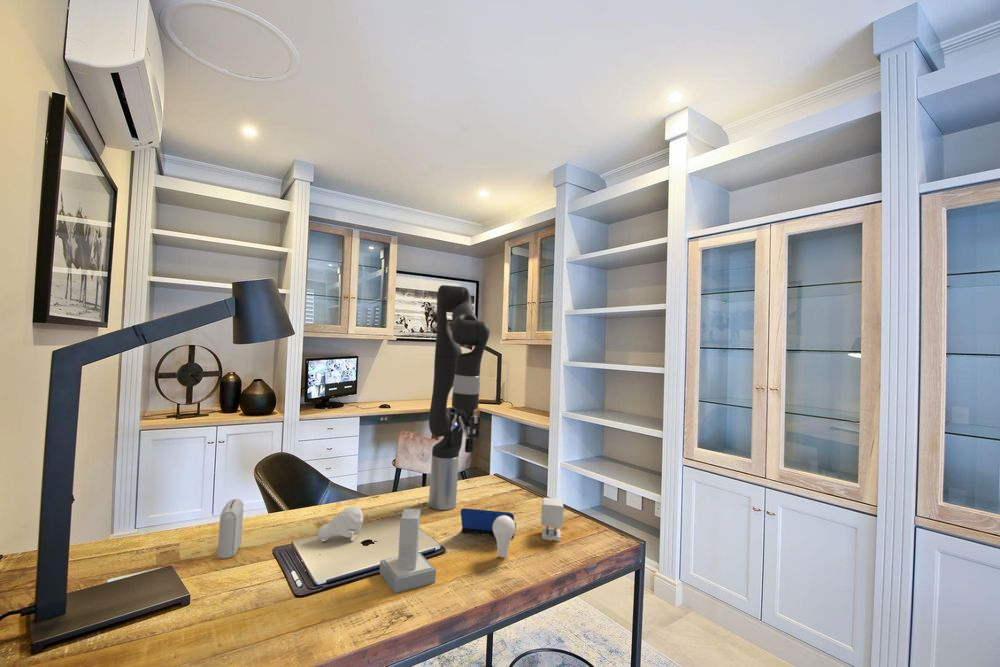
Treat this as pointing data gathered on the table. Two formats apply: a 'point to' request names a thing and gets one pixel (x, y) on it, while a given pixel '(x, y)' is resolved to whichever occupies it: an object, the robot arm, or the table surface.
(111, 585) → the table surface
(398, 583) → the plinth
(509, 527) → the lightbulb
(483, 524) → the handheld game console
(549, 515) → the white block on posts
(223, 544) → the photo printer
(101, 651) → the table surface
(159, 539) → the table surface
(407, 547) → the skincare box
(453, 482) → the robot arm
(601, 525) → the table surface
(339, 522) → the white rounded figure
